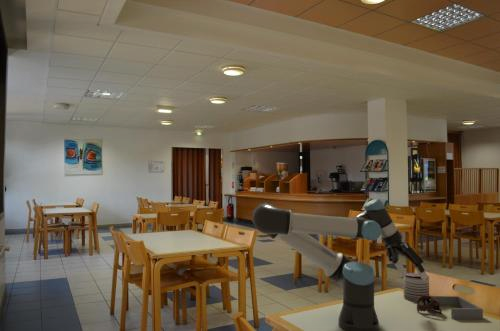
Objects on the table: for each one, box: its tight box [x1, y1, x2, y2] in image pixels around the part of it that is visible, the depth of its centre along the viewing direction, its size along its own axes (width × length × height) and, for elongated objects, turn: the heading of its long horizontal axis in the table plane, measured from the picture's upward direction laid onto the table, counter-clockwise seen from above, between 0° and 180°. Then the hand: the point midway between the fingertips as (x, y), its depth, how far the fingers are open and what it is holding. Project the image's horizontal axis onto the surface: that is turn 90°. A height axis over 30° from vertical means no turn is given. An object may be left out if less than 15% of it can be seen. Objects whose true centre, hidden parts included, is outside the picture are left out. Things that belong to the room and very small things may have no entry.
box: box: [431, 295, 484, 320], centre depth 170 cm, size 12×18×4 cm
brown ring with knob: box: [415, 294, 443, 315], centre depth 170 cm, size 12×9×8 cm
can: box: [403, 272, 430, 304], centre depth 188 cm, size 11×11×12 cm
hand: (414, 276), depth 167 cm, fingers open, 13 cm apart
